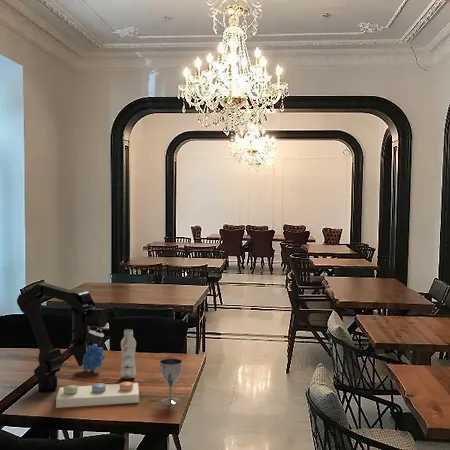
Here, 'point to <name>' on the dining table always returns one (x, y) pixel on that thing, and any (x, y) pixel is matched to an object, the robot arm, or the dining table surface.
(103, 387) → the button blue
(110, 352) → the dining table surface
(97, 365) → the grapes
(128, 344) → the plastic bottle
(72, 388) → the button sage
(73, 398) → the console
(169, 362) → the wine glass
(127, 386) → the button terracotta
